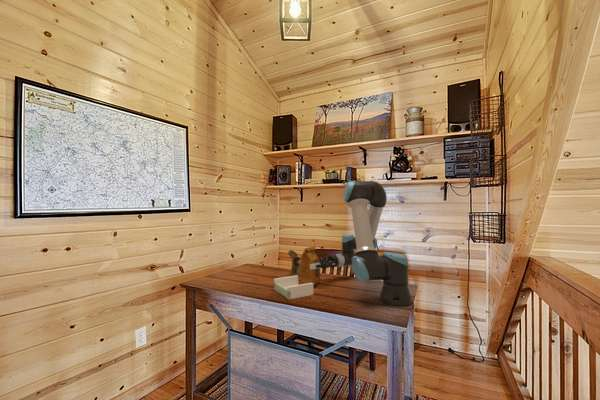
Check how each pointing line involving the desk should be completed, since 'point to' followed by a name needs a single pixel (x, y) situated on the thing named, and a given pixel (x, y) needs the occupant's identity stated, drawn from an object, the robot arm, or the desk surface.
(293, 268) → the wooden mug
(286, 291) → the tray
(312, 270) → the coffee package
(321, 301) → the desk surface
